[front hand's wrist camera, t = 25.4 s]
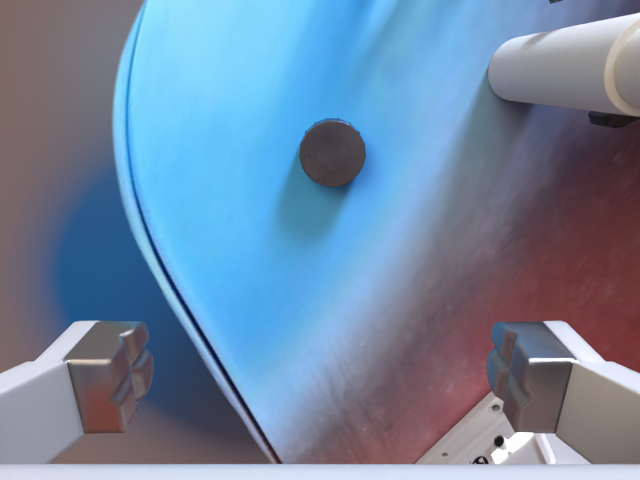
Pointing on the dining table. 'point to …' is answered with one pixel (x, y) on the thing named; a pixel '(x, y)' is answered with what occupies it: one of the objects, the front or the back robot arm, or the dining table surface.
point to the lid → (332, 152)
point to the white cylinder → (573, 67)
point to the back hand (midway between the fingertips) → (576, 61)
